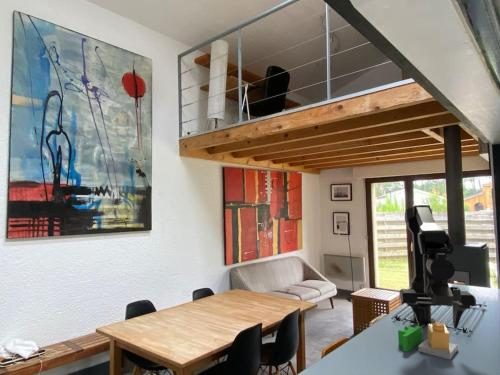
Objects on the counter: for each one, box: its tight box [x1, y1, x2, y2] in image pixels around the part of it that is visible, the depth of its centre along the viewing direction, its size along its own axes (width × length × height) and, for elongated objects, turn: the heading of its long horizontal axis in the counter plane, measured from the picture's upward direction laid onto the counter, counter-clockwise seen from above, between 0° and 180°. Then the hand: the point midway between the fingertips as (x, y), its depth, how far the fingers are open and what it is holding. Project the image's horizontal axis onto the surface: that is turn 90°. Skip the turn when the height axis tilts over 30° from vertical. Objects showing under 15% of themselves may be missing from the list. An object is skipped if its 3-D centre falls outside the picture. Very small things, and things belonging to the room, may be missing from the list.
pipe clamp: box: [397, 325, 424, 353], centre depth 103 cm, size 11×4×5 cm, turn 132°
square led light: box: [427, 321, 450, 349], centre depth 98 cm, size 4×4×6 cm
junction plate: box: [418, 337, 459, 360], centre depth 98 cm, size 9×8×5 cm
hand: (437, 327), depth 98 cm, fingers open, 9 cm apart
